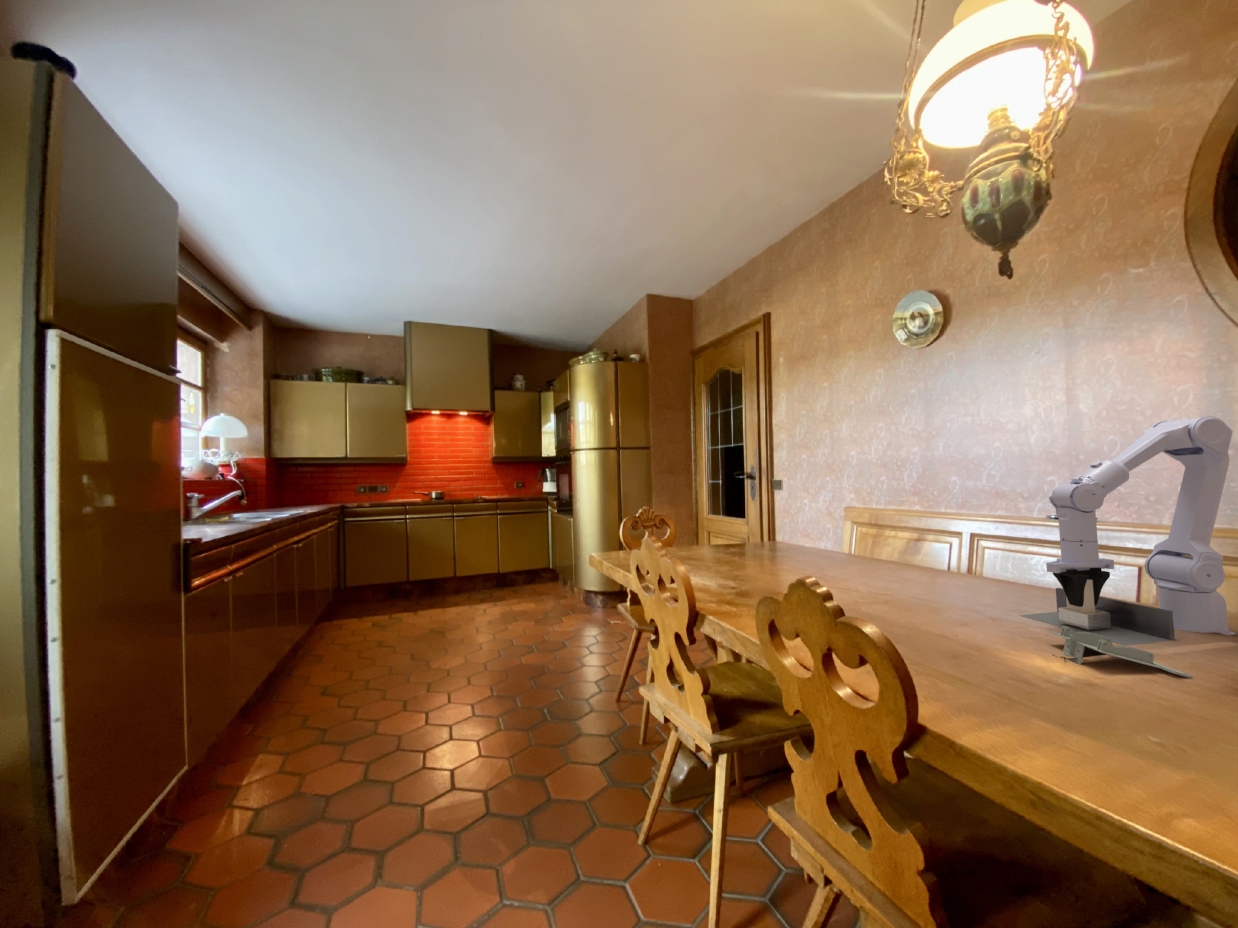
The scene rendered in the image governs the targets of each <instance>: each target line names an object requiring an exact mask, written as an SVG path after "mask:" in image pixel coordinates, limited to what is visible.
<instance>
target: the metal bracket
mask: <svg viewBox="0 0 1238 928" xmlns="http://www.w3.org/2000/svg"><path fill="white" fill-rule="evenodd" d="M1048 633H1051V634H1053V635H1055V636H1058V637H1060V638H1063V639H1065V642H1064V646H1063V651H1062V652H1063V655H1062V656H1061V658H1063V659H1066V660H1068V661H1070V662H1073V663H1074V664H1077V665H1078V666H1079V665H1080V666H1081V664H1082V661H1083V656H1084V652H1085V647H1086V648H1088V649H1092V650H1094V651H1096V652H1099V653H1101V654H1105V655H1108V656H1111V657H1116V658H1120V659H1123V660H1126V661H1127V660H1128V661H1130V662H1135V663H1137V664H1142V665H1146V666H1150V667H1154V668H1157V669H1161V670H1164V671H1166V672H1168V673H1170V674H1171V673H1172V674H1174V675H1178V676H1181V677H1185V678H1189V679H1195V677H1193V676H1194V675H1190V674H1188V673H1185V672H1182V671H1180V670H1177V669H1174V668H1172V667H1169V666H1166V665H1163V664H1161V663H1158V662H1156V661H1154V659H1155V655H1154V653H1153V652H1151V651H1150V652H1149V651H1146V650H1143V649H1139V648H1135V647H1131V646H1129V645H1113V642H1112V639H1110V638H1108V637H1104V636H1100V635H1097V634H1093V633H1089V632H1076V631H1074V630H1072V629H1071V628H1069V627H1066V626H1064V627H1062V628H1061V631H1060V633H1058V632H1054V631H1050V630H1049V631H1048ZM1072 656H1073V657H1072ZM1068 657H1070V658H1068Z"/></svg>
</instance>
